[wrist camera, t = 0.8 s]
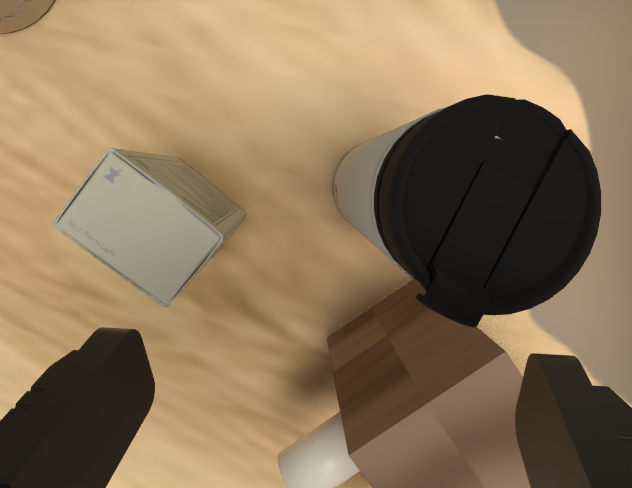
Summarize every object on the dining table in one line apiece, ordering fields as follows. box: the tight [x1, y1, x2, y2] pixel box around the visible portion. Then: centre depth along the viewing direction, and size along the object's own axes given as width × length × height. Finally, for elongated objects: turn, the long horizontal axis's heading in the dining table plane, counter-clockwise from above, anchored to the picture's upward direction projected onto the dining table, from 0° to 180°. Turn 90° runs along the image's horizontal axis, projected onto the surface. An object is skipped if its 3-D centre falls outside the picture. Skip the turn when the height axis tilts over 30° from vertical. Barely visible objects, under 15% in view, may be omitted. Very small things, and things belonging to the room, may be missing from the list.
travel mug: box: [333, 94, 601, 328], centre depth 22 cm, size 6×7×20 cm
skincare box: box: [54, 148, 246, 307], centre depth 26 cm, size 6×4×12 cm
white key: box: [278, 412, 360, 488], centre depth 26 cm, size 3×4×3 cm
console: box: [327, 279, 531, 488], centre depth 28 cm, size 20×8×14 cm, turn 35°
